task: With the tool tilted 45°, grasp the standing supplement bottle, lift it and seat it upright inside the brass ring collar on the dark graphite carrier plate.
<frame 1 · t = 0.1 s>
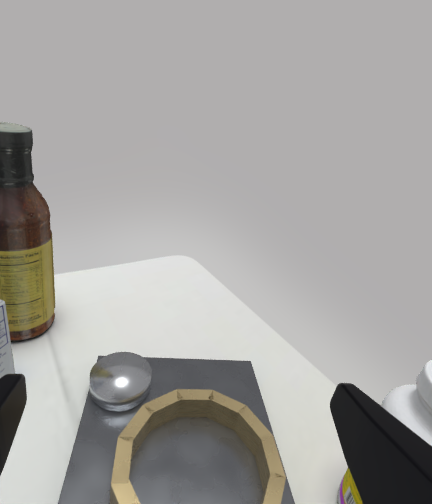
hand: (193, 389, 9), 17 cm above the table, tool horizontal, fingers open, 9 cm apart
carrier plate: (179, 462, 24), on the table
sauce bottle: (22, 327, 34), on the table
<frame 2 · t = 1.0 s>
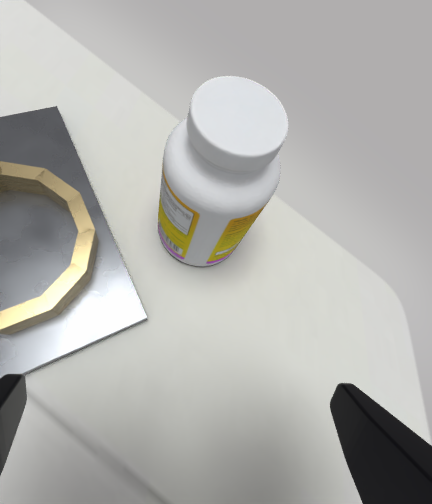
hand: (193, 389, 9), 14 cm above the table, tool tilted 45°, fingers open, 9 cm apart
supplement bottle: (197, 231, 26), on the table
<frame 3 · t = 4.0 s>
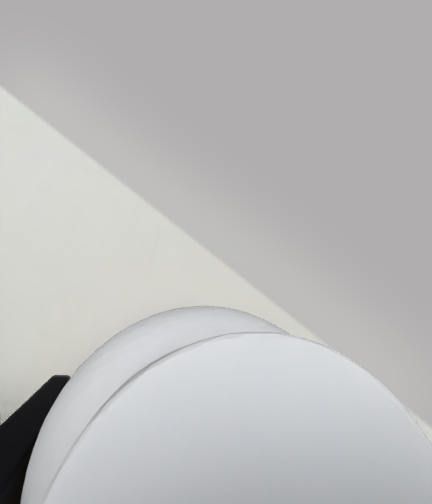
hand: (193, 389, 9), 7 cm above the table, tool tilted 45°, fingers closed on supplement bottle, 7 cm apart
supplement bottle: (170, 414, 15), on the table, touching gripper
when the fingers open (9 cm above the table, at t = 7.9 s): supplement bottle drops 1 cm, resting on carrier plate.
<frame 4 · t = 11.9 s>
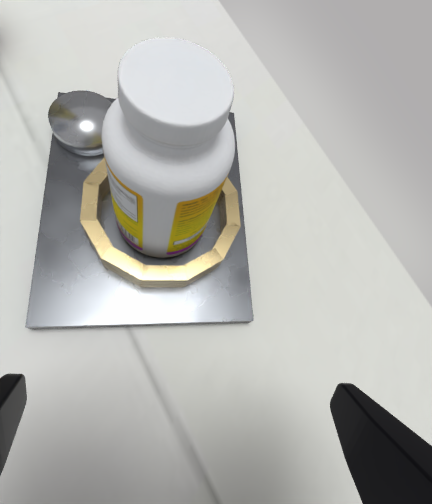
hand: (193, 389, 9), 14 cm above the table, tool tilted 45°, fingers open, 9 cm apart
carrier plate: (149, 205, 26), on the table
supplement bottle: (161, 220, 25), point 1 cm above the table, touching carrier plate
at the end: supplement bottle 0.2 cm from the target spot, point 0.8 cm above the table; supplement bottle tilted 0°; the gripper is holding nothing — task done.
